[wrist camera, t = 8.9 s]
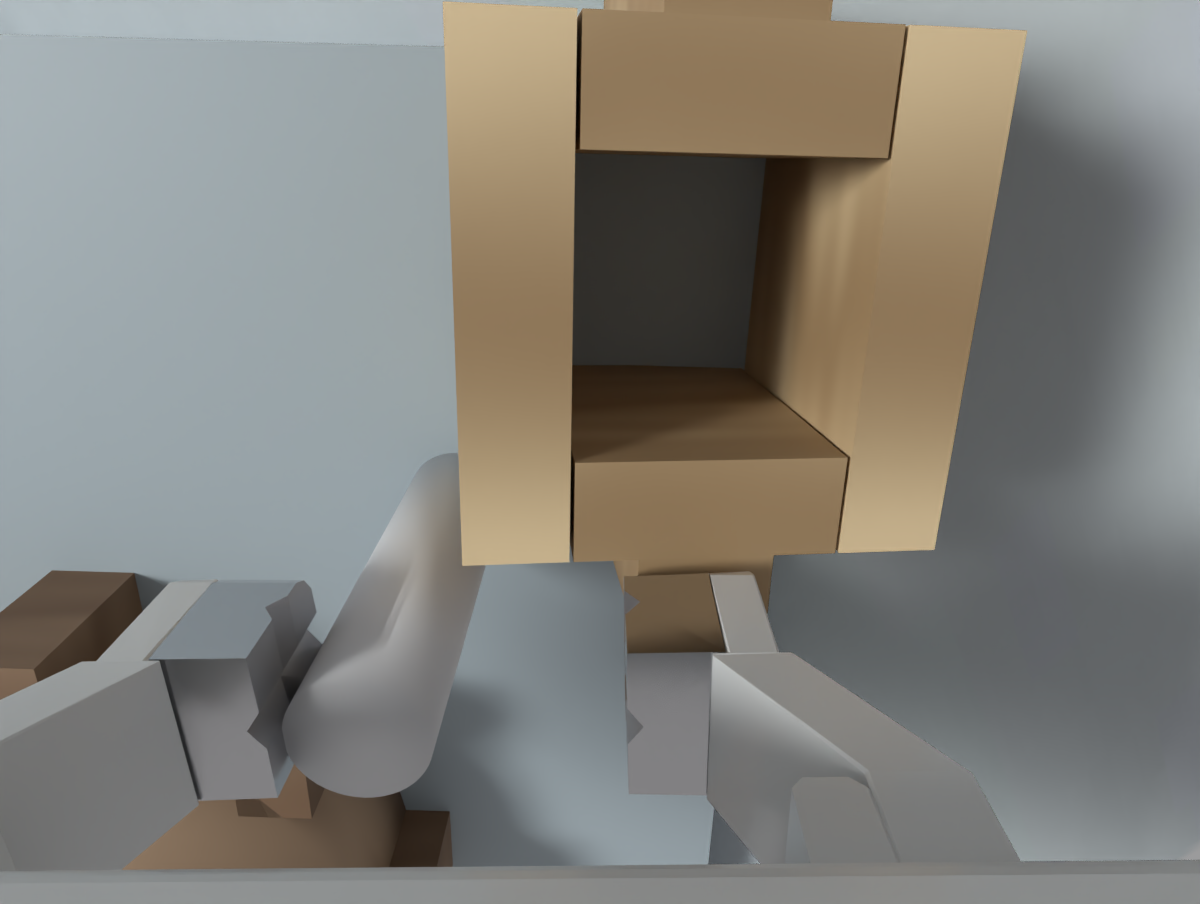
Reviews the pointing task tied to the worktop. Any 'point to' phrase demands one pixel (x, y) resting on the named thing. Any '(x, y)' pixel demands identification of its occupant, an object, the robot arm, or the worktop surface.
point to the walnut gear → (216, 827)
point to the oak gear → (780, 288)
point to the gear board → (334, 404)
